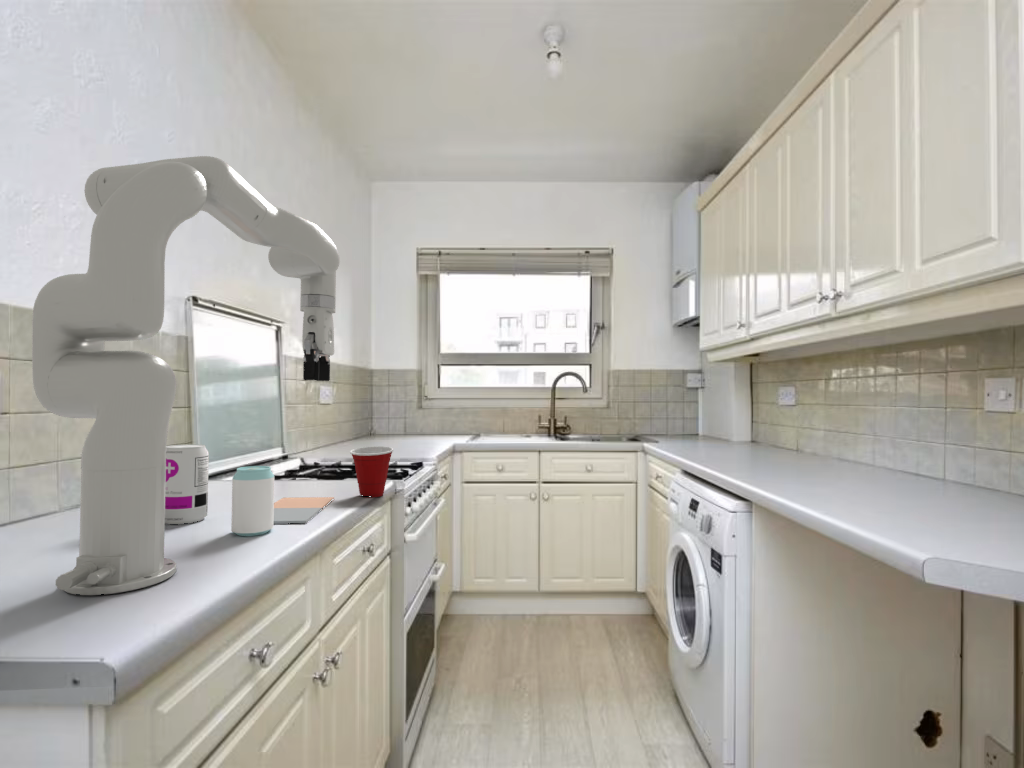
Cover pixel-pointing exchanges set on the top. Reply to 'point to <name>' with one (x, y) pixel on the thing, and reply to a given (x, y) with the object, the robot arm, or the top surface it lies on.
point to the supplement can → (186, 483)
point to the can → (252, 500)
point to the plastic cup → (372, 469)
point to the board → (298, 509)
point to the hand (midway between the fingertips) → (317, 380)
